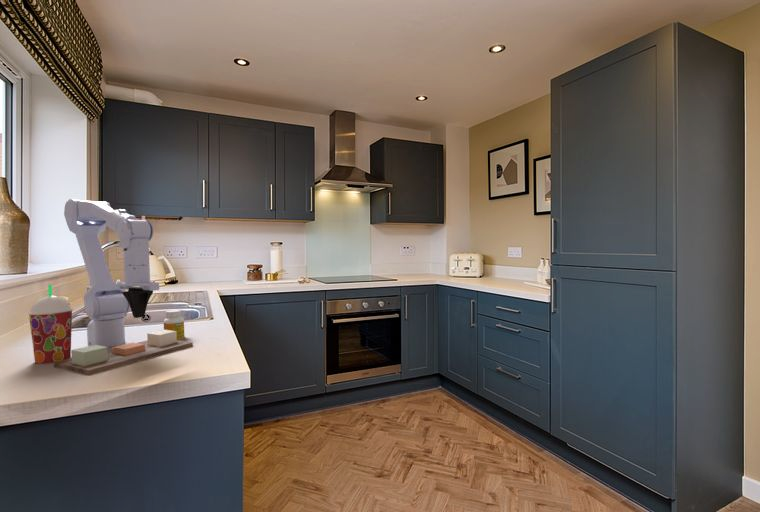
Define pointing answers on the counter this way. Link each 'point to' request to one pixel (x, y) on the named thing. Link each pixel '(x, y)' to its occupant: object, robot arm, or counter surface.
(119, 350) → the key terracotta
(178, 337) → the supplement bottle
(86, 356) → the key sage
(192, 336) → the counter surface
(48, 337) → the smoothie
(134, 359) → the brown rectangular tray
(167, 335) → the key cream
